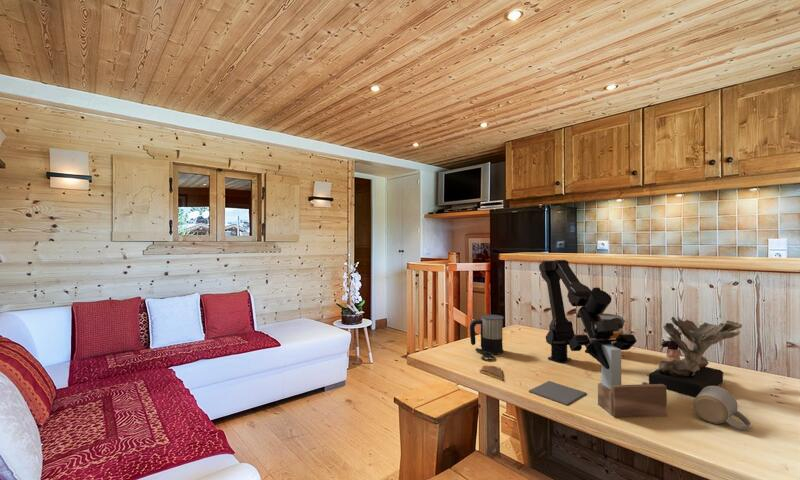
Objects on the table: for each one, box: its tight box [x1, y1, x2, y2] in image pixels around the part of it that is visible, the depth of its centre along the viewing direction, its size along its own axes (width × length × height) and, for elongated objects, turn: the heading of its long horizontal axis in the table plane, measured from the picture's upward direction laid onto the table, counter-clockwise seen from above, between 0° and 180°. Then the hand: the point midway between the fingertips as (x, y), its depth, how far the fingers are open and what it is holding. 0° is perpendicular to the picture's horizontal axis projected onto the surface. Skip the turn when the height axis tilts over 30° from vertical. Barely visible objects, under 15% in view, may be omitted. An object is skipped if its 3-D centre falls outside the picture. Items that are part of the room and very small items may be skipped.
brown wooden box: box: [597, 381, 668, 419], centre depth 100 cm, size 8×14×8 cm, turn 92°
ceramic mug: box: [693, 386, 752, 431], centre depth 93 cm, size 11×8×8 cm
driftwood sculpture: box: [648, 316, 743, 399], centre depth 116 cm, size 25×20×22 cm
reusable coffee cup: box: [599, 312, 625, 338], centre depth 150 cm, size 13×13×15 cm
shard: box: [479, 364, 504, 381], centre depth 127 cm, size 11×8×2 cm
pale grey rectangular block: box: [600, 345, 622, 388], centre depth 108 cm, size 5×3×13 cm, turn 2°
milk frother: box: [469, 314, 505, 360], centre depth 149 cm, size 14×16×15 cm
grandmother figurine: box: [659, 333, 684, 361], centre depth 134 cm, size 8×4×13 cm, turn 65°
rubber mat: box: [528, 380, 587, 406], centre depth 111 cm, size 12×12×1 cm
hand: (613, 368), depth 107 cm, fingers closed on pale grey rectangular block, 3 cm apart
